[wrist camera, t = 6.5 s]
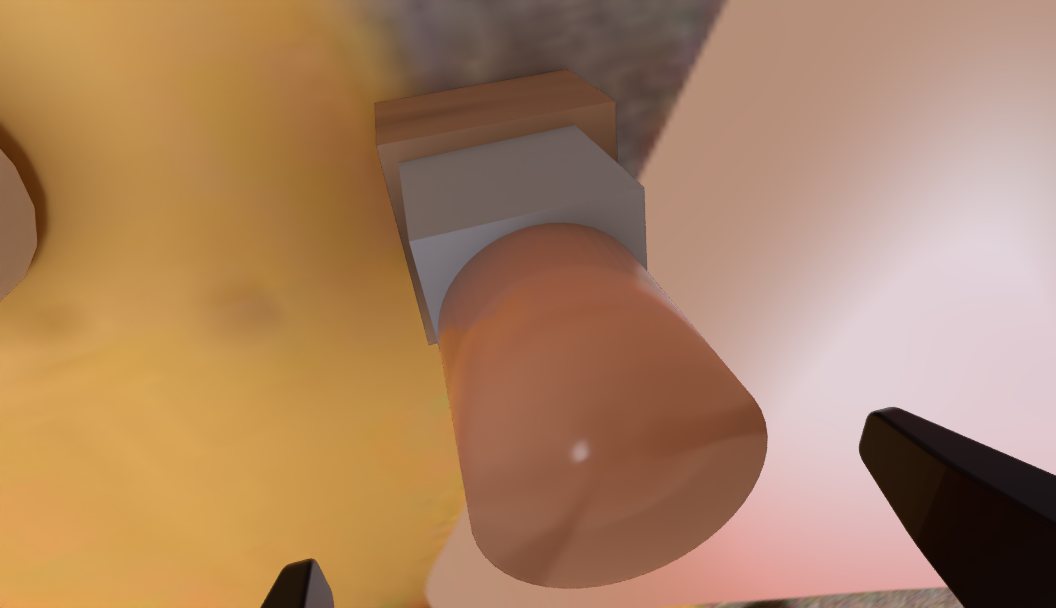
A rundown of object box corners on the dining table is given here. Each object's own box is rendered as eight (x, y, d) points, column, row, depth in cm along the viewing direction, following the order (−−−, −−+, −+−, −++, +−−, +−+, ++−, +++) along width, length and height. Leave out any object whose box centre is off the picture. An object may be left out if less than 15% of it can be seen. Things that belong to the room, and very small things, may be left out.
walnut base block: (579, 238, 22) (622, 300, 18) (418, 273, 21) (428, 345, 17) (565, 68, 19) (615, 101, 15) (374, 102, 18) (375, 146, 14)
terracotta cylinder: (650, 378, 14) (755, 541, 10) (461, 427, 13) (497, 619, 10) (645, 200, 11) (782, 328, 8) (414, 251, 11) (437, 417, 7)
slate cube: (589, 276, 17) (650, 369, 14) (439, 313, 17) (459, 420, 13) (574, 124, 15) (643, 186, 11) (398, 162, 14) (409, 241, 11)
